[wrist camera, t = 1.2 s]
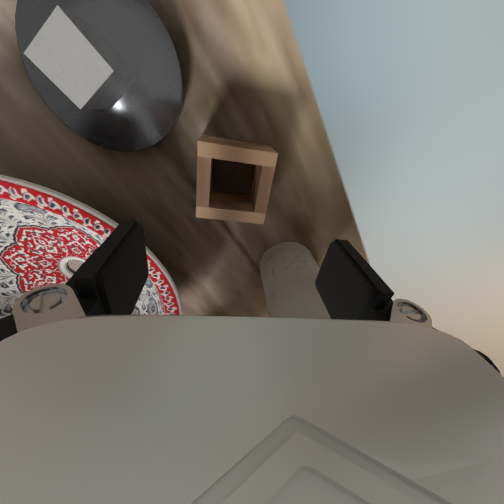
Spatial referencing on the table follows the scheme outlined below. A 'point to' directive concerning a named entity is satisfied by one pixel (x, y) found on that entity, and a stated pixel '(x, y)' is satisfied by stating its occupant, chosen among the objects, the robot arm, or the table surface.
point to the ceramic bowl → (61, 246)
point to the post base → (139, 53)
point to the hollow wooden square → (227, 203)
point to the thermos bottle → (291, 282)
